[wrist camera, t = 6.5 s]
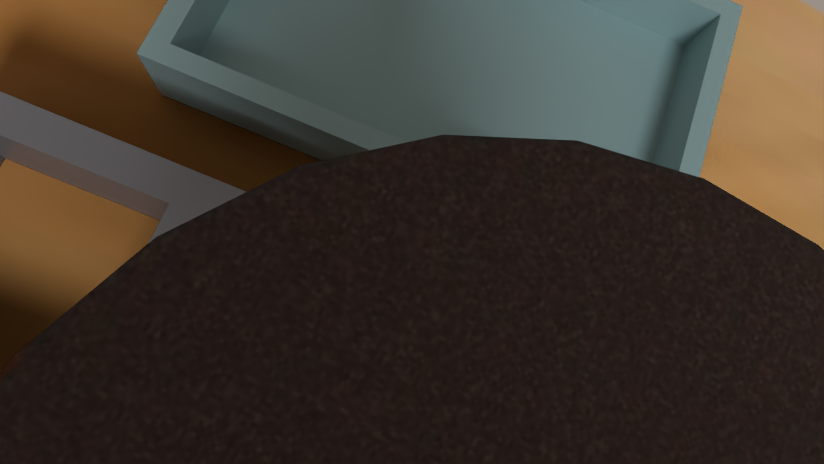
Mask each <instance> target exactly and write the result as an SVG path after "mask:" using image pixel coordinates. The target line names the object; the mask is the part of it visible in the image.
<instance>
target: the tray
mask: <svg viewBox="0 0 824 464" xmlns="http://www.w3.org/2000/svg"><path fill="white" fill-rule="evenodd" d="M742 7H743V6H742V5H739V4H737V3H735V2H732V1H730V0H168V1H167V3H166V4H165V6H164V8H163V10H162V11H161V13H160V15H159V16H158V18H157V20H156V21H155V23H154V25H153V26H152V28H151V30H150V32H149V33H148V35H147V37H146V38H145V40H144V42H143V43H142V45H141V47H140V48H139V50H138V52H137V55H138V57H139V58H140V60H141V62H142V63H143V65H144V67H145V68H146V70H147V72H148V73H149V75H150V77H151V78H152V80H153V82H154V83H155V85H156V87H157V88H158V90H159V91H160V93H161V95H164V96H166V97H169V98H171V99H173V100H176V101H178V102H181V103H183V104H186V105H188V106H190V107H193V108H195V109H198V110H200V111H203V112H205V113H207V114H210V115H212V116H215V117H217V118H220V119H222V120H224V121H227V122H229V123H232V124H234V125H237V126H239V127H241V128H244V129H246V130H249V131H251V132H254V133H256V134H258V135H261V136H263V137H266V138H268V139H271V140H273V141H275V142H278V143H280V144H283V145H285V146H288V147H290V148H292V149H295V150H297V151H300V152H302V153H305V154H307V155H309V156H312V157H314V158H317V159H319V160H321V161H322V160H327V159H331V158H336V157H340V156H345V155H350V154H354V153H359V152H364V151H368V150H373V149H378V148H382V147H387V146H392V145H396V144H401V143H406V142H410V141H415V140H420V139H424V138H429V137H434V136H438V135H464V136H487V137H509V138H532V139H555V140H577V141H581V142H584V143H588V144H591V145H594V146H598V147H601V148H604V149H608V150H611V151H614V152H617V153H621V154H624V155H627V156H631V157H634V158H637V159H641V160H644V161H647V162H650V163H654V164H657V165H660V166H664V167H667V168H670V169H674V170H677V171H680V172H683V173H687V174H690V175H693V176H697V177H699V176H700V172H701V168H702V164H703V160H704V156H705V152H706V148H707V144H708V141H709V137H710V133H711V129H712V125H713V121H714V117H715V113H716V109H717V105H718V101H719V97H720V93H721V90H722V86H723V82H724V78H725V74H726V70H727V66H728V62H729V58H730V54H731V50H732V46H733V42H734V38H735V35H736V31H737V27H738V23H739V19H740V15H741V11H742Z"/></svg>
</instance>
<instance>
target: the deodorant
mask: <svg viewBox="0 0 824 464" xmlns="http://www.w3.org/2000/svg"><path fill="white" fill-rule="evenodd" d="M0 464H824V250H823V249H822V248H821V247H820V246H819V245H817V244H815V243H814V242H812V241H810V240H808V239H807V238H805V237H803V236H802V235H800V234H798V233H796V232H795V231H793V230H791V229H790V228H788V227H786V226H784V225H783V224H781V223H779V222H778V221H776V220H774V219H772V218H771V217H769V216H767V215H765V214H764V213H762V212H760V211H759V210H757V209H755V208H753V207H752V206H750V205H748V204H747V203H745V202H743V201H741V200H740V199H738V198H736V197H735V196H733V195H731V194H729V193H728V192H726V191H724V190H722V189H721V188H719V187H717V186H716V185H714V184H712V183H710V182H709V181H707V180H705V179H703V178H700V177H697V176H693V175H690V174H687V173H683V172H680V171H677V170H674V169H670V168H667V167H664V166H660V165H657V164H654V163H650V162H647V161H644V160H641V159H637V158H634V157H631V156H627V155H624V154H621V153H617V152H614V151H611V150H608V149H604V148H601V147H598V146H594V145H591V144H588V143H584V142H581V141H577V140H555V139H532V138H509V137H487V136H464V135H438V136H434V137H429V138H424V139H420V140H415V141H410V142H406V143H401V144H396V145H392V146H387V147H382V148H378V149H373V150H368V151H364V152H359V153H354V154H350V155H345V156H340V157H336V158H331V159H327V160H322V161H317V162H313V163H308V164H303V165H300V166H298V167H296V168H294V169H292V170H290V171H288V172H286V173H284V174H282V175H280V176H278V177H276V178H274V179H272V180H270V181H268V182H266V183H264V184H262V185H260V186H258V187H256V188H254V189H252V190H250V191H248V192H246V193H244V194H242V195H240V196H238V197H236V198H234V199H231V200H229V201H227V202H225V203H223V204H221V205H219V206H217V207H215V208H213V209H211V210H209V211H207V212H205V213H203V214H201V215H199V216H197V217H195V218H193V219H191V220H189V221H187V222H185V223H183V224H181V225H179V226H177V227H175V228H173V229H171V230H169V231H167V232H165V233H163V234H161V235H159V236H157V237H156V238H154V239H153V240H152V241H151V242H150V243H148V244H147V245H146V246H145V247H144V248H142V249H141V250H140V251H139V252H138V253H136V254H135V255H134V256H133V257H132V258H130V259H129V260H128V261H127V262H126V263H124V264H123V265H122V266H121V267H120V268H118V269H117V270H116V271H115V272H114V273H112V274H111V275H110V276H109V277H108V278H106V279H105V280H104V281H103V282H102V283H100V284H99V285H98V286H97V287H96V288H94V289H93V290H92V291H91V292H90V293H88V294H87V295H86V296H85V297H84V298H82V299H81V300H80V301H79V302H78V303H76V304H75V305H74V306H73V307H72V308H70V309H69V310H68V311H67V312H66V313H65V314H63V315H62V316H61V317H60V318H59V319H57V320H56V321H55V322H54V323H53V324H51V325H50V326H49V327H48V328H47V329H45V330H44V331H43V332H42V333H41V334H39V335H38V336H37V337H36V338H35V339H33V340H32V341H31V342H30V343H29V344H27V345H26V346H25V347H24V348H23V349H21V350H20V351H19V352H18V353H17V354H15V356H14V357H13V358H12V360H11V361H10V362H9V364H8V365H7V366H6V368H5V369H4V370H3V372H2V373H1V374H0Z"/></svg>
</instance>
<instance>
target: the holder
mask: <svg viewBox="0 0 824 464" xmlns="http://www.w3.org/2000/svg"><path fill="white" fill-rule="evenodd" d="M5 158H6V159H8V160H11V161H13V162H16V163H18V164H21V165H23V166H26V167H28V168H31V169H33V170H36V171H38V172H41V173H43V174H46V175H48V176H51V177H53V178H56V179H58V180H61V181H63V182H66V183H68V184H71V185H73V186H76V187H78V188H80V189H83V190H85V191H88V192H90V193H93V194H95V195H98V196H100V197H103V198H105V199H108V200H110V201H113V202H115V203H118V204H120V205H123V206H125V207H128V208H130V209H133V210H135V211H138V212H140V213H143V214H145V215H148V216H150V217H153V218H155V219H158V220H160V222H159V224H158V226H157V228H156V230H155V232H154V233H153V235H152V237H151V239H150V241H149V243H150V242H151V241H152V240H153V239H154V238H156V237H157V236H159V235H161V234H163V233H165V232H167V231H169V230H171V229H173V228H175V227H177V226H179V225H181V224H183V223H185V222H187V221H189V220H191V219H193V218H195V217H197V216H199V215H201V214H203V213H205V212H207V211H209V210H211V209H213V208H215V207H217V206H219V205H221V204H223V203H225V202H227V201H229V200H231V199H234V198H236V197H238V196H240V195H242V194H244V193H246V191H244V190H241V189H239V188H236V187H234V186H231V185H229V184H226V183H224V182H222V181H219V180H217V179H214V178H212V177H209V176H207V175H204V174H202V173H199V172H197V171H195V170H192V169H190V168H187V167H185V166H182V165H180V164H177V163H175V162H172V161H170V160H168V159H165V158H163V157H160V156H158V155H155V154H153V153H150V152H148V151H145V150H143V149H140V148H138V147H136V146H133V145H131V144H128V143H126V142H123V141H121V140H118V139H116V138H113V137H111V136H109V135H106V134H104V133H101V132H99V131H96V130H94V129H91V128H89V127H86V126H84V125H82V124H79V123H77V122H74V121H72V120H69V119H67V118H64V117H62V116H59V115H57V114H54V113H52V112H50V111H47V110H45V109H42V108H40V107H37V106H35V105H32V104H30V103H27V102H25V101H23V100H20V99H18V98H15V97H13V96H10V95H8V94H5V93H3V92H0V165H1V164H2V162H3V160H4V159H5Z"/></svg>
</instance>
